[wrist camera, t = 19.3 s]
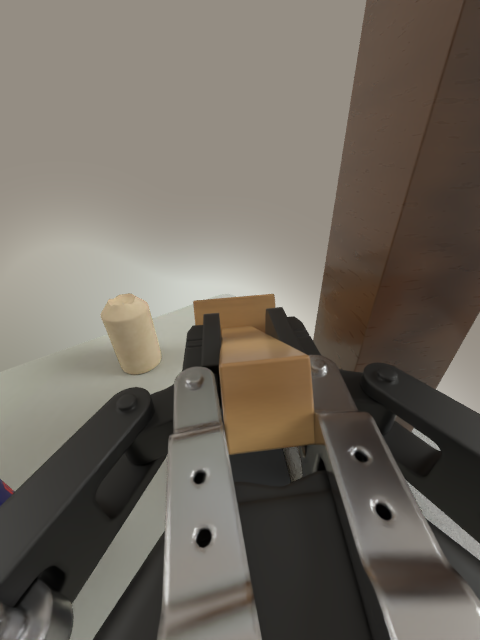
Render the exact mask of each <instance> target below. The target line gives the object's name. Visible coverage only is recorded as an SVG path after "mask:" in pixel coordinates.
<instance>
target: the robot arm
mask: <svg viewBox="0 0 480 640" xmlns="http://www.w3.org/2000/svg"><path fill="white" fill-rule="evenodd" d="M265 333H266V334H268V335H270V336H272V337H274V338H276V339H277V340H279V341H281V342H283V343H285V344H287V345H289V346H291V347H293V348H295V349H297V350H299V351H301V352H303V353H305V354H307V355H309V357H310V363H311V376H312V388H313V401H314V440H315V443H314V444H313V445H305V446H298V447H299V452H300V457H301V462H302V476H303V477H302V478H300V479H298V480H296V481H294V482H292V483H289V484H287V485H285V486H282V487H276V486H269V485H263V484H256V483H250V482H243V481H240V482H234V481H233V476H232V470H231V464H230V458H229V453H228V447H227V441H226V436H225V430H224V425H223V422H222V409H223V407H222V397H221V386H220V376H219V359H220V349H221V340H222V335H221V326H220V316H219V313H210V314H204V315H203V325H195V326H192V328H191V329H190V330H189V331H188V333H187V342H186V348H185V355H184V362H183V370H182V372H181V373H180V374H179V375H178V376H177V377H176V379H175V382H174V384H173V385H172V386H170V387H169V388H167V389H164V390H162V391H159V392H156V393H154V394H151V395H150V393H149V392H148V391H147V390H146V389H143V388H139V387H134V388H128V389H125V390H123V391H121V392H119V393H117V394H116V395H114V396H113V397H112V398H111V399H110V400H109V401H108V402H107V403H106V404H105V405H104V406H103V407H102V408H101V409H100V410H99V411H98V412H97V413H96V414H94V415H93V416H92V417H91V418H90V419H89V420H88V421H87V422H86V423H85V424H84V425H83V426H82V427H81V428H80V429H79V430H78V431H77V432H76V433H75V434H74V435H73V436H72V437H71V438H70V439H69V440H68V441H67V442H66V443H65V444H64V445H63V446H62V447H61V448H60V449H58V450H57V451H56V452H55V453H54V454H53V455H52V456H51V457H50V458H49V459H48V460H47V461H46V462H45V463H44V464H43V465H42V466H41V467H40V468H39V469H38V470H37V471H36V472H35V473H34V474H33V475H32V476H31V477H30V478H29V479H28V480H27V481H26V482H25V483H24V484H22V485H21V486H20V487H19V488H18V489H17V490H16V491H15V492H14V493H13V494H12V495H11V496H10V497H9V498H8V499H7V500H6V501H5V502H4V503H3V504H2V505H1V506H0V640H69V639H70V636H71V632H72V627H73V608H72V603H73V601H74V600H75V598H76V597H77V595H78V594H79V592H80V590H81V589H82V587H83V586H84V584H85V583H86V581H87V580H88V578H89V576H90V575H91V573H92V572H93V570H94V569H95V567H96V566H97V564H98V562H99V561H100V559H101V558H102V556H103V555H104V553H105V552H106V550H107V548H108V547H109V545H110V544H111V542H112V541H113V539H114V538H115V536H116V534H117V533H118V531H119V530H120V528H121V527H122V525H123V524H124V522H125V520H126V519H127V517H128V516H129V514H130V513H131V511H132V510H133V508H134V506H135V505H136V503H137V502H138V500H139V499H140V497H141V496H142V494H143V492H144V491H145V489H146V488H147V486H148V485H149V483H150V482H151V480H152V478H153V477H154V475H155V474H156V472H157V471H158V469H159V468H160V466H161V464H162V463H163V461H164V460H165V458H166V456H167V454H168V462H167V489H166V516H165V531H164V533H163V534H162V536H161V537H160V538H159V540H158V541H157V543H156V545H155V546H154V548H153V549H152V551H151V552H150V554H149V555H148V557H147V558H146V560H145V561H144V563H143V564H142V566H141V567H140V569H139V570H138V572H137V573H136V575H135V576H134V578H133V579H132V581H131V582H130V584H129V585H128V587H127V588H126V590H125V592H124V593H123V595H122V596H121V598H120V599H119V601H118V602H117V604H116V605H115V607H114V608H113V610H112V611H111V613H110V614H109V616H108V617H107V619H106V620H105V622H104V623H103V625H102V626H101V628H100V629H99V631H98V632H97V634H96V635H95V637H94V639H93V640H480V560H479V559H477V558H476V557H475V556H473V555H472V554H471V553H469V552H468V551H467V550H466V549H464V548H463V547H462V546H460V545H459V544H458V543H457V542H455V541H454V540H453V539H451V538H450V537H449V536H448V535H446V534H445V533H444V532H442V531H441V530H440V529H439V528H437V527H436V526H435V525H433V524H432V523H431V522H430V521H428V520H427V519H426V518H425V517H424V515H423V513H422V511H421V509H420V507H419V505H418V503H417V501H416V499H415V498H414V496H413V494H412V492H411V490H410V488H409V486H408V484H407V482H406V480H407V481H408V482H409V483H410V484H411V485H412V486H414V487H415V488H416V489H417V490H418V491H419V492H421V493H422V494H423V495H424V496H425V497H426V498H428V499H429V500H430V501H431V502H432V503H433V504H435V505H436V506H437V507H438V508H439V509H440V510H441V511H443V512H444V513H445V514H446V515H447V516H448V517H450V518H451V519H452V520H453V521H454V522H455V523H457V524H458V525H459V526H460V527H461V528H462V529H464V530H465V531H466V532H467V533H468V534H469V535H471V536H472V537H473V538H474V539H475V540H476V541H478V542H479V543H480V414H479V413H477V412H475V411H473V410H471V409H470V408H468V407H466V406H464V405H463V404H461V403H459V402H457V401H455V400H454V399H452V398H450V397H448V396H446V395H445V394H443V393H441V392H439V391H438V390H436V389H434V388H432V387H430V386H429V385H427V384H425V383H423V382H421V381H420V380H418V379H416V378H414V377H413V376H411V375H409V374H407V373H405V372H404V371H402V370H400V369H398V368H396V367H394V366H392V365H389V364H385V363H371V364H368V365H367V366H366V367H365V368H364V371H363V373H361V372H354V371H346V370H342V369H338V367H337V365H336V364H335V363H334V362H333V361H332V360H330V359H329V358H327V357H324V356H321V354H320V352H319V351H318V349H317V347H316V345H315V344H314V342H313V340H312V339H311V337H310V336H309V334H308V332H307V330H306V328H305V327H304V325H303V323H302V322H301V321H300V320H298V319H297V318H295V317H287V316H286V314H285V312H284V310H283V308H282V307H279V308H267V309H266V313H265ZM396 416H398V417H400V418H401V419H403V420H404V421H405V422H407V423H408V424H410V425H411V426H413V427H414V428H415V429H417V430H418V431H420V432H421V433H423V434H424V435H425V436H427V437H428V438H430V439H431V440H432V441H434V442H435V443H436V444H437V445H438V447H439V448H440V450H441V451H438V450H436V449H434V448H433V447H431V446H430V445H428V444H427V443H426V442H424V441H423V440H421V439H420V438H419V437H417V436H416V435H414V434H413V433H412V432H410V431H409V430H407V429H406V428H405V427H403V426H402V425H400V424H399V423H398V422H396V421H395V418H396Z"/></svg>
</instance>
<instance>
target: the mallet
mask: <svg viewBox="0 0 480 640" xmlns="http://www.w3.org/2000/svg"><path fill="white" fill-rule="evenodd" d="M193 304H194V315H195V325H203V315H204V314H210V313H219V316H220V326H221V335H222V340H221V349H220V359H219V376H220V386H221V397H222V407H223V418H224V429H225V436H226V441H227V447H228V453H229V455H234V454H242V453H250V452H257V451H265V450H273V449H281V448H289V447H297V446H305V445H313V444H314V443H315V440H314V401H313V388H312V376H311V363H310V357H309V355H307V354H305V353H303V352H301V351H299V350H297V349H295V348H293V347H291V346H289V345H287V344H285V343H283V342H281V341H279V340H277V339H276V338H274V337H272V336H270V335H268V334H266V333H265V313H266V309H267V308H275V297H274V294H266V295H254V296H244V297H231V298H220V299H208V300H197V301H194V302H193Z"/></svg>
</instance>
